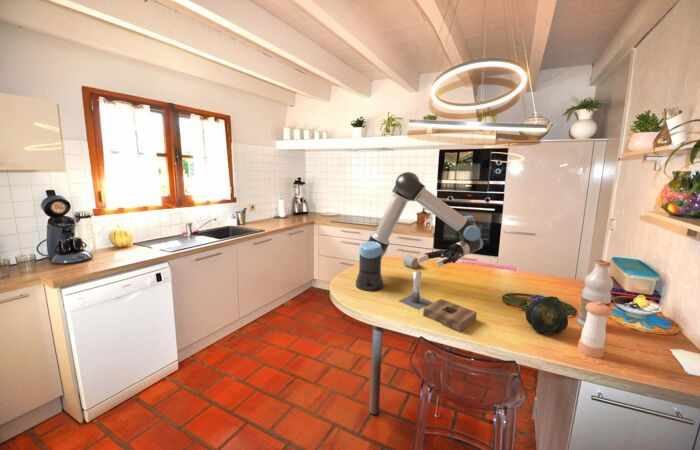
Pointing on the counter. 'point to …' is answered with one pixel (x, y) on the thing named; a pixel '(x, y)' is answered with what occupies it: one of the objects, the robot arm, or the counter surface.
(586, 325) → the pepper shaker
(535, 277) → the counter surface
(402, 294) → the counter surface
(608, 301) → the fruit juice
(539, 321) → the squash
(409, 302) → the rubber mat
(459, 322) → the socket block
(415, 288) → the metal pin
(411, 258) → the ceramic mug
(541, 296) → the pudding
